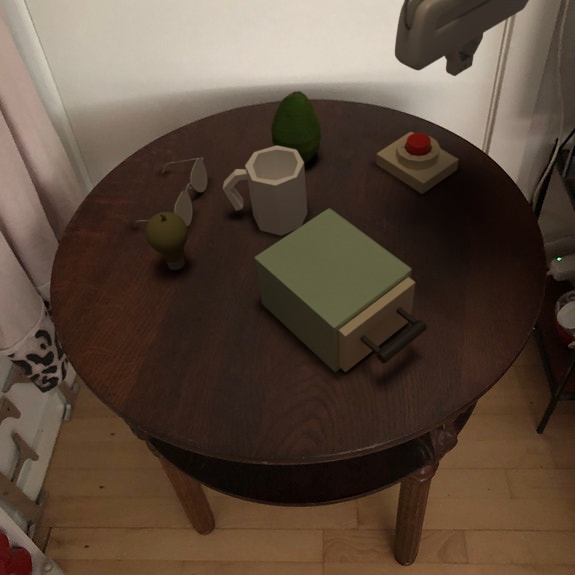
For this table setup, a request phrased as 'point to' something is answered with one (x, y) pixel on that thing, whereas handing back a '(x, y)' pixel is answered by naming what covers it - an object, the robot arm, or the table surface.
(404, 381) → the table surface
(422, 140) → the button
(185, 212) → the sunglasses
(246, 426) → the table surface
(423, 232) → the table surface
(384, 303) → the drawer
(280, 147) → the mug
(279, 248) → the cabinet
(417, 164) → the button block
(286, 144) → the fruit
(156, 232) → the light bulb
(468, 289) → the table surface
